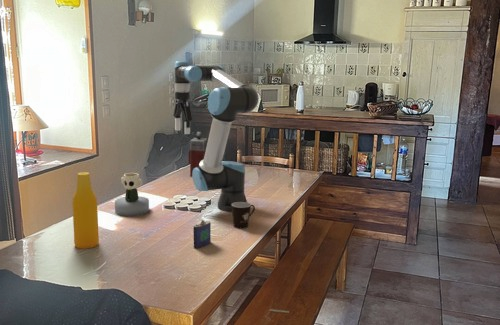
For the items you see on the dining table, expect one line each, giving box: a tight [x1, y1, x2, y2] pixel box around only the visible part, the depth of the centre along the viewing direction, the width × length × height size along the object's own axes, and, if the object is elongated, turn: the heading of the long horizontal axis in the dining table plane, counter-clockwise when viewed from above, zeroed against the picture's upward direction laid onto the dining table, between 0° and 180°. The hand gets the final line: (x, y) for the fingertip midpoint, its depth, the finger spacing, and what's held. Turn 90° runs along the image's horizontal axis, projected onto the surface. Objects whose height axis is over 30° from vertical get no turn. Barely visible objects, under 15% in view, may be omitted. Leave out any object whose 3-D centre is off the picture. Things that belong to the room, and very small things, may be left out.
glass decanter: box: [188, 131, 208, 178], centre depth 306 cm, size 9×11×28 cm
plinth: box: [114, 195, 150, 217], centre depth 235 cm, size 16×16×5 cm
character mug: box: [120, 172, 143, 201], centre depth 233 cm, size 11×7×13 cm, turn 75°
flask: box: [192, 219, 212, 249], centre depth 194 cm, size 9×3×11 cm, turn 144°
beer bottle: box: [71, 171, 100, 250], centre depth 189 cm, size 9×9×29 cm
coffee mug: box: [231, 201, 256, 229], centre depth 217 cm, size 12×9×10 cm
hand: (182, 132), depth 256 cm, fingers open, 13 cm apart
